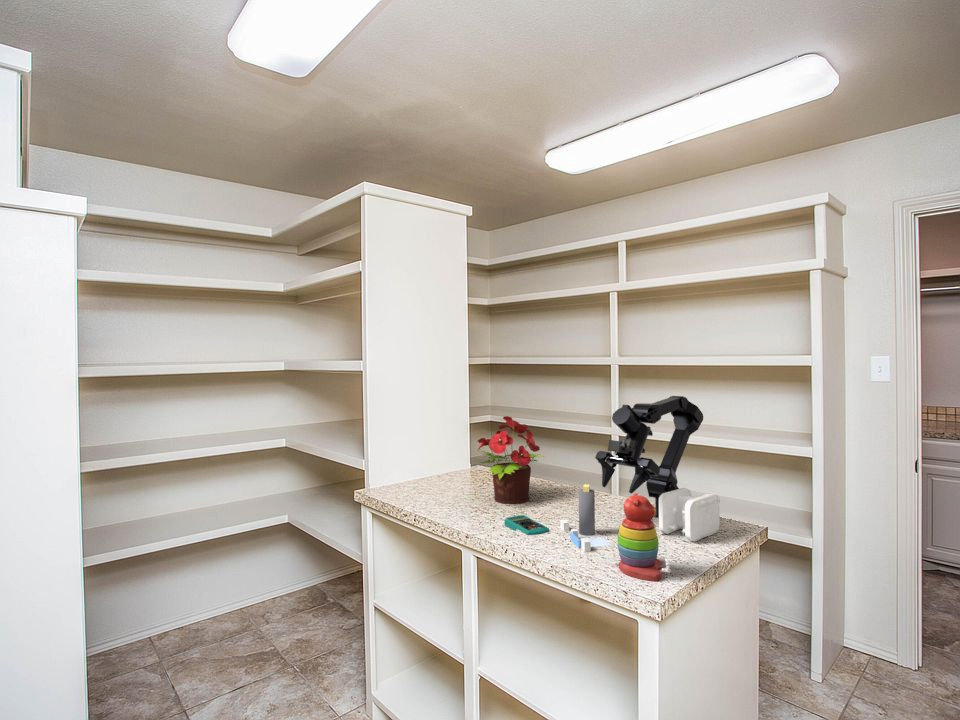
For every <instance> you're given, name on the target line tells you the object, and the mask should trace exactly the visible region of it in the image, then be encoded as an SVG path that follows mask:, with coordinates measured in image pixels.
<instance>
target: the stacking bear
mask: <svg viewBox="0 0 960 720" xmlns="http://www.w3.org/2000/svg"><path fill="white" fill-rule="evenodd" d="M623 511H624V515H625V518H623V520H622V521H621V523H620V526H619V530H618V533H617V548H618V554H619V557H620V561H619V563H618V570H619V571H620V572H621V573H623V574H624V573H625V575H626V576H629V577H633V578H636V579H639V580H644V581H652V582H658V581H660V580H662V578H663V577H662V576H663V575H662V573H661V571H660V570H662V569H663V567H661V565H663V562H662V560H660V559H658V553H659V548H660V547H659V545H660V544H659V543H660V541H659V537H658V533H657V529H656V526H655V523H654V522H653V518H655V517H654V516H655V514H656V511H657V510H656V508H655V506H654V505H653V504H652V503H651V502H650V500H649V499H648V498H647V497H645V496H643V495H638V493H636V492H634V494H633V495H630V496H629V497H627V498H626V499H625V500H624V504H623Z"/></svg>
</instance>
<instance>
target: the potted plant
mask: <svg viewBox="0 0 960 720" xmlns="http://www.w3.org/2000/svg"><path fill="white" fill-rule="evenodd" d="M502 419H503V420H504V421H505V424H501V425H500V426H498V429H499V430H497V431H496V432H495V434H494V435H493V436H492V437H491V438H489V439H488V438H485V437H482V438H480V439H477V442H478V443H479V444H480V445H479V446H478V448H477V452H480V449H481V448H482V447H486V446H488V447H489V450H490V451H491V452H487V451H484V450H481V453H483V455H485V456H483V457H484V458H485V457H486V458H487V457H488V459H487V460H485V461H482V462H478V463H475V464H474V466H476V465H479V464H483V465H484V464H487V463H488V464H492V463H493V464H494V463H496V464H494V465H493V466H491V468H490V469H488V472H490V474H492V482H493V493H494V496H493V498H494V499H493V500H494V501H495V502H496V503H499V504H505V505H519V504H524V503H527V502H529V501H530V484H531V472H532V468H531V466H530V465H529V464H530V463H531V462H532V463H534V462H538V461H539V459H535V458H540V457H542V458H547V457H546V456H545V455H544V456H543V455H542V454H541V453H539V454H538V453H537V454H535V453H536V452H538V451H540V450H541V449H540V446H539V445H537V444H536V441H535V440H534V439H533V433H532V431H531V430H529V429H527V428H528V426H527V425H526V424H521V423H519V422H518V421H517V420H514V419H513V418H512V417H511V416H508V415H507V416H503V417H502ZM506 428H509V429H510V430H511V431H512V434H514V432H515V433H517V437H519V438H521V439H523V440H525V443H526V446H525V445H520V446H518V450H517V449H514V450H512V451H511V453H510V454H509V452H508V450H507V447H508V446H511V448H513V444H514V436H512V435H511V436H510V435H509V434H508V431H506V430H503V429H506ZM524 433H526V437H525V436H524V435H523V434H524ZM527 447H528V448H529V450H530V451H532V452H535V453H530V452H529V451H528V450H527V449H526V448H527ZM503 453H504V455H501V454H503ZM506 453H507V454H506ZM494 454H497V455H494ZM499 454H500V455H499ZM502 461H504V462H502Z"/></svg>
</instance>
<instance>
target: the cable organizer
mask: <svg viewBox="0 0 960 720" xmlns="http://www.w3.org/2000/svg"><path fill="white" fill-rule="evenodd" d="M691 491H692V490H690V489H689V488H685V487H682V488H679V489H677V490H673V491H670V492H666V493H663V494H661V495H660V497H659V518H658V529H659V531H660V532H662V533H664V534H665V535H669V534H671V533H673V532H675V531H677V530H682V531H681V533H682V535H683V536H684V537H685V539H686V540H688V541H689V540H690V541H691V542H693V543H694V542H697V541H700V540H701V539H703V538H705V537H707V536H708V537H710V535H711V536H712V535H714V534H716V533H717V532H718V531H719V529H720V526H721V525H720V503H721V499H720V497H719V495H718V494H715V493H707V494H703V495H700V496H695V497H694V496H692V492H691Z"/></svg>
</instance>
